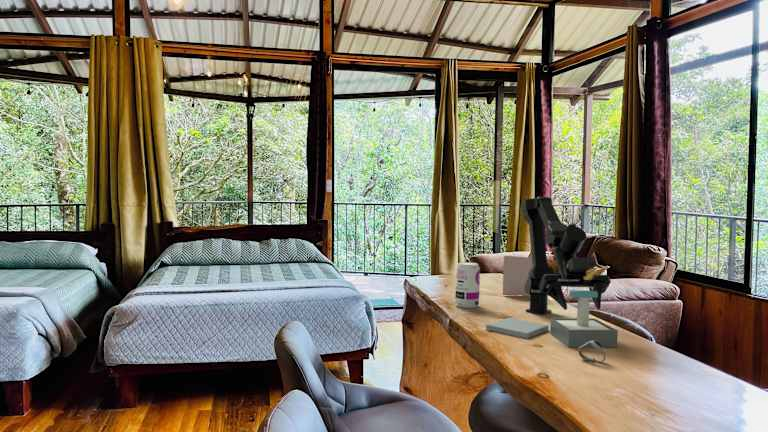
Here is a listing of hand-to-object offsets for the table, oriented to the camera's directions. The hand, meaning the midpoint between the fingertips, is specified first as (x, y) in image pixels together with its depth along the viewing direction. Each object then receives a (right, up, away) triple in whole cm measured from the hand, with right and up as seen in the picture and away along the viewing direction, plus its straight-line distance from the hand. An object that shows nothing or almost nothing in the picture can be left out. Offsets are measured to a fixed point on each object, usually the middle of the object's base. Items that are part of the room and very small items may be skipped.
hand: (582, 309), depth 145 cm
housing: (0, -9, 0) cm, 9 cm away
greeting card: (-3, -6, +63) cm, 63 cm away
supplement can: (-25, -6, +42) cm, 50 cm away
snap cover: (0, -6, 0) cm, 6 cm away
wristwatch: (-4, -10, -18) cm, 21 cm away
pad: (-15, -8, +10) cm, 20 cm away
